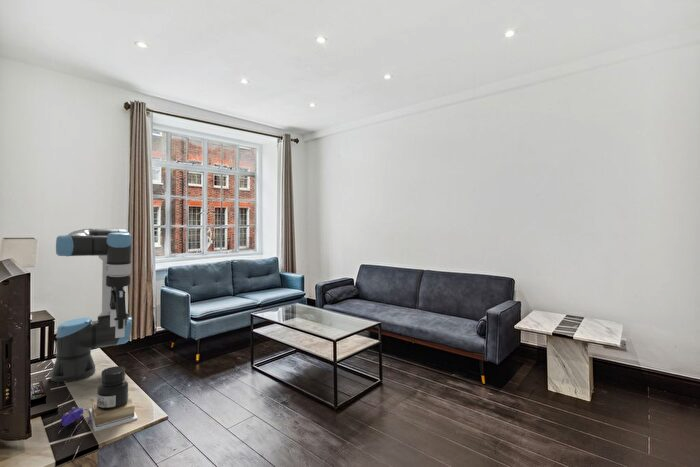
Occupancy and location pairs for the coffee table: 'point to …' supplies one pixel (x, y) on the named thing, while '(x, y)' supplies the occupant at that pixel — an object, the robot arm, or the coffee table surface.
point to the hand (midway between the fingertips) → (116, 331)
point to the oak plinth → (112, 412)
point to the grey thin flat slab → (112, 423)
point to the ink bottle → (112, 389)
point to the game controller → (72, 416)
